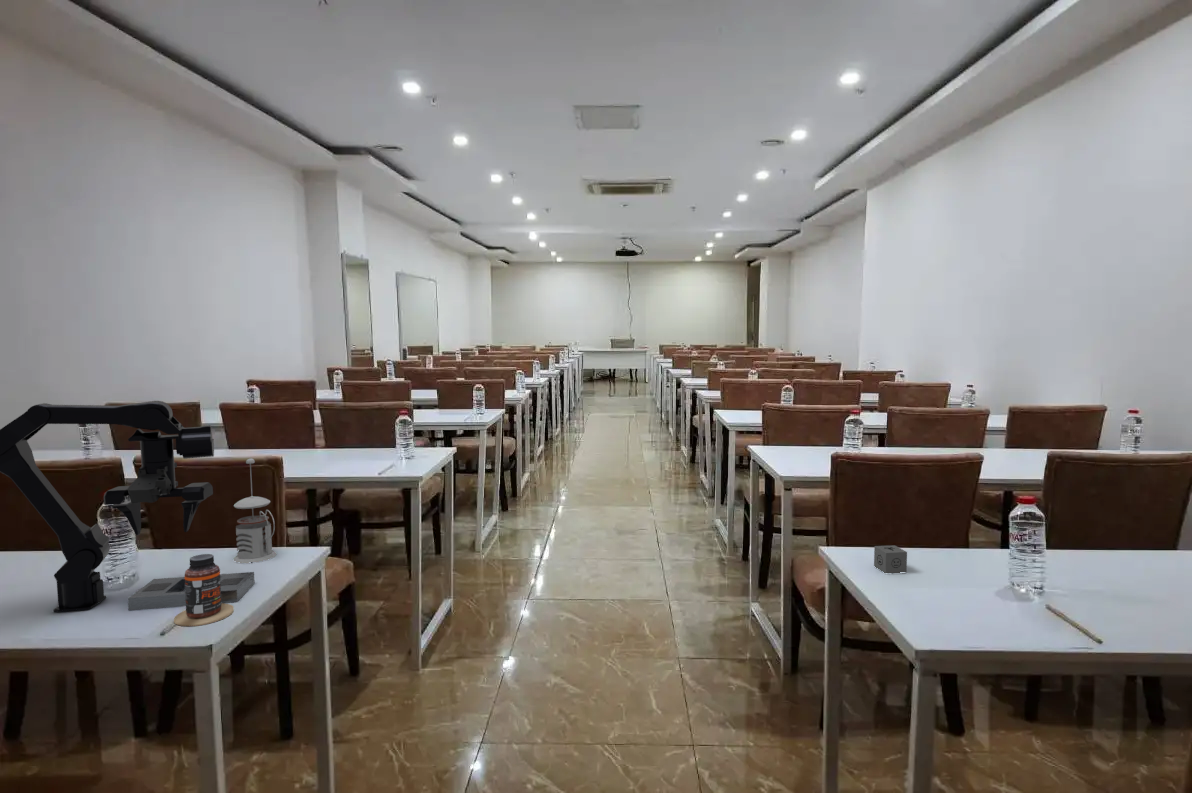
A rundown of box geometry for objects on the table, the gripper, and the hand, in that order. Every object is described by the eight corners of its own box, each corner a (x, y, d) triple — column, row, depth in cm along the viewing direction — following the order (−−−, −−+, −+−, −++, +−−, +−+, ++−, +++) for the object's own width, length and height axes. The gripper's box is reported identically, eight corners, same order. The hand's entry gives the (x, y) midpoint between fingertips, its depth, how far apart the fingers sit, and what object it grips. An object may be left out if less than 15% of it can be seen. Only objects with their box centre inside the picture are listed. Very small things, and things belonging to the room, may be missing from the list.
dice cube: (894, 566, 151) (894, 545, 151) (906, 573, 146) (907, 552, 146) (873, 567, 151) (874, 546, 150) (885, 574, 146) (886, 552, 145)
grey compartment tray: (128, 610, 129) (127, 598, 128) (154, 590, 139) (153, 578, 139) (237, 601, 132) (236, 589, 132) (254, 582, 143) (254, 571, 143)
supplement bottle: (205, 620, 122) (201, 562, 121) (178, 618, 124) (175, 560, 123) (229, 608, 128) (226, 552, 127) (203, 606, 129) (200, 551, 129)
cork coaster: (164, 628, 120) (164, 626, 120) (187, 607, 130) (187, 605, 130) (223, 623, 122) (222, 621, 122) (241, 603, 132) (241, 601, 132)
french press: (259, 548, 168) (255, 454, 166) (290, 554, 163) (286, 457, 161) (223, 560, 159) (218, 460, 157) (254, 566, 154) (249, 463, 152)
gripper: (85, 469, 126) (91, 547, 127) (190, 465, 130) (195, 541, 131) (115, 460, 137) (120, 531, 138) (212, 456, 141) (215, 526, 142)
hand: (162, 533), depth 137 cm, fingers open, 9 cm apart
